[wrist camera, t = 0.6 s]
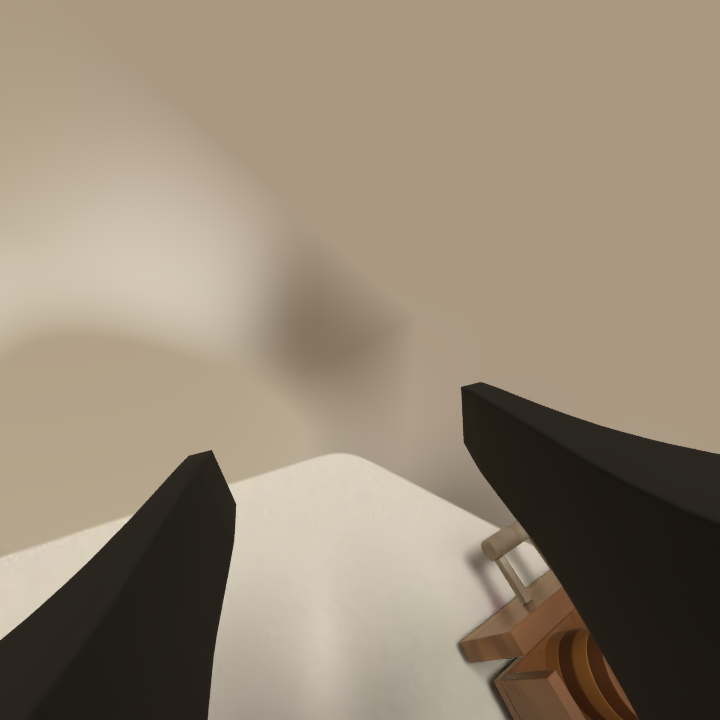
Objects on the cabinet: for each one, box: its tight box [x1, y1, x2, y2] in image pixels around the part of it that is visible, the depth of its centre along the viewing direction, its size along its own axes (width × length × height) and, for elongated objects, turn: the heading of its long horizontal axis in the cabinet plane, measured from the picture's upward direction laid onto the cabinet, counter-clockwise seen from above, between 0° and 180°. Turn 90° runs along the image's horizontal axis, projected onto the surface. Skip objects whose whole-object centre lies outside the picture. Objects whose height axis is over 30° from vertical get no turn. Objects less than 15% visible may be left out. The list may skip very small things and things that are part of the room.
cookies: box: [546, 627, 639, 720], centre depth 21 cm, size 5×5×5 cm
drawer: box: [461, 520, 586, 720], centre depth 23 cm, size 15×12×6 cm
